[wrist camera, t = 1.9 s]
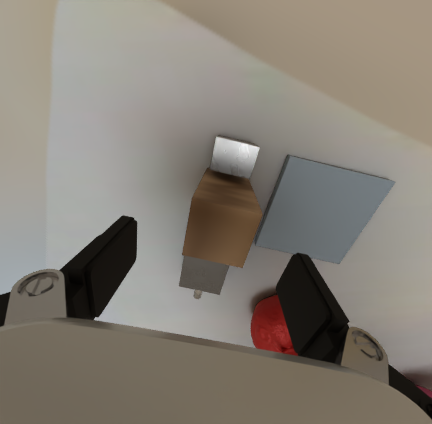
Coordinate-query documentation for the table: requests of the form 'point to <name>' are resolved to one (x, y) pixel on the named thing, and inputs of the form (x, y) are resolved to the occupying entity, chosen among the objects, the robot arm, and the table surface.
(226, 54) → the table surface
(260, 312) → the pomegranate
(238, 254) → the walnut peg
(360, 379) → the robot arm
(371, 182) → the pad
